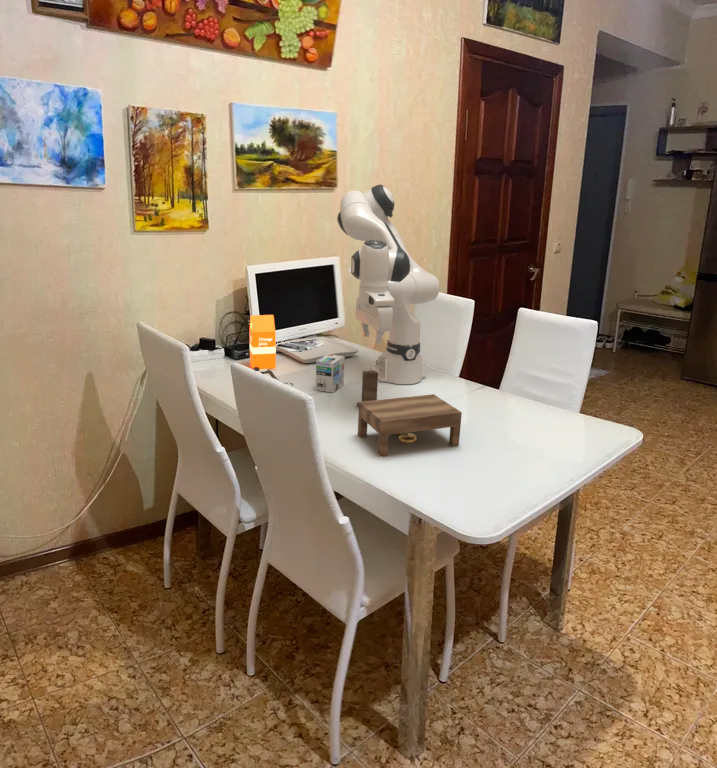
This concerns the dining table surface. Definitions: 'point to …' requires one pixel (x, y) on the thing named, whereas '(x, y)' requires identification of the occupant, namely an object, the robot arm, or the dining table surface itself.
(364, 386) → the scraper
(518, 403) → the dining table surface
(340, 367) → the light bulb box
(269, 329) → the orange juice
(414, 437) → the token
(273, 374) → the hacksaw
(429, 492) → the dining table surface
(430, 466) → the dining table surface
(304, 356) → the square plate
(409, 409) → the wooden footstool
